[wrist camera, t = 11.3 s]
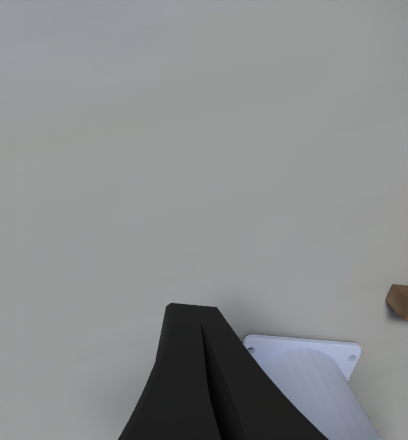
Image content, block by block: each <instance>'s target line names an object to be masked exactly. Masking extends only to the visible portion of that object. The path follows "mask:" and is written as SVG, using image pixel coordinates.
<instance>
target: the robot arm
mask: <svg viewBox="0 0 408 440" xmlns="http://www.w3.org/2000/svg"><path fill="white" fill-rule="evenodd" d="M248 348H252V349H249V350H248ZM361 352H362V349H361V347H360V346H359V344H357V343H352V342H340V341H328V340H316V339H304V338H292V337H280V336H268V335H256V334H251V335H248V336H246V337H245V338H244V340H243V343H242V342H241V341H240V339H239V338H238V336H237V335H236V334H235V332H234V331H233V329H232V328H231V327H230V325H229V324H228V322H227V321H226V320H225V318H224V317H223V315H222V314H221V313H220V311H219V310H218V308H217V307H209V306H198V305H188V304H177V303H170V304H169V305H167V306H166V310H165V315H164V320H163V325H162V330H161V335H160V340H159V345H158V350H157V355H156V362H155V364H154V367H153V369H152V371H151V374H150V376H149V379H148V381H147V384H146V386H145V388H144V390H143V393H142V395H141V397H140V399H139V401H138V403H137V405H136V407H135V409H134V411H133V413H132V415H131V417H130V419H129V421H128V423H127V425H126V426H125V428H124V430H123V432H122V434H121V435H120V437H119V439H118V440H381V438H380V436H379V435H378V433H377V431H376V430H375V428H374V426H373V424H372V423H371V421H370V419H369V418H368V416H367V414H366V412H365V411H364V409H363V407H362V406H361V404H360V402H359V400H358V399H357V397H356V395H355V394H354V392H353V390H352V388H351V387H350V385H349V383H348V380H349V378H350V376H351V374H352V372H353V369H354V367H355V365H356V363H357V361H358V359H359V356H360V354H361ZM350 356H351V357H350Z"/></svg>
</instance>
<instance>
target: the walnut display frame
mask: <svg viewBox="0 0 408 440" xmlns="http://www.w3.org/2000/svg"><path fill="white" fill-rule="evenodd" d="M386 301H387V302H388V304H389V305H390V306H391V307H392V308H393V309H394V310H395V311H396V312H397V313H398V314H399V315H400V317H401V318H402V319H403V320H404V321H408V286H403V285H395V284H393V285H392V287H391V289H390V292H389V294H388V296H387V298H386Z"/></svg>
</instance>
